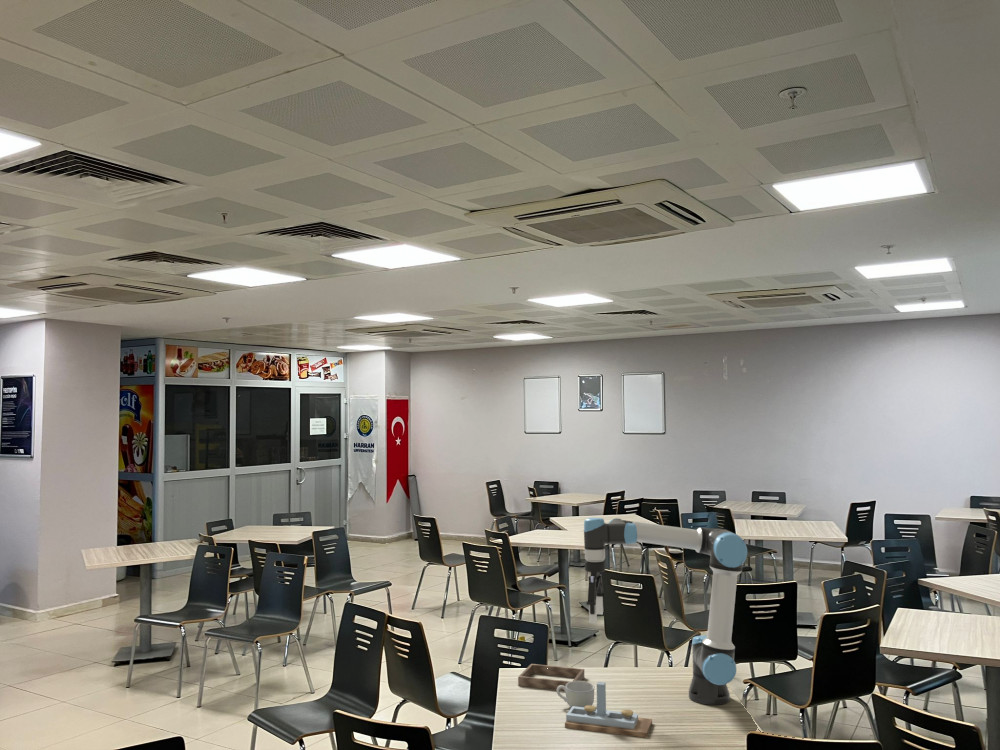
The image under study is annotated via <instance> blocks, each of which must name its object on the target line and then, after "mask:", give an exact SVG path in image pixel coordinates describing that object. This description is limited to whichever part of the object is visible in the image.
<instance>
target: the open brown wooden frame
mask: <svg viewBox="0 0 1000 750" xmlns="http://www.w3.org/2000/svg"><path fill="white" fill-rule="evenodd" d="M547 668H548V669H547ZM533 674H537V675H547V676H557V677H564V678H565V677H568V678H573V680H572V681H584V679H585V668H579V667H577V668H575V667H568V666H566V667H565V666H555V665H547V664H538V663H537V664H536V663H531V664H529V665H528V666H527V667H526V668H525V669H524V670H523V671H522V673H520V674H519V676H518V677H517V686H518V687H527V688H528V687H529V688H537V689H545V688H548V689H547V690H554V689H555V690H556V691H557V687H558V686H560V685H563V686H565V687H566V684H567V683H569V682H571V681H570V680H562V679H552V678H542V677H541V678H540V677H532V675H533ZM559 691H563V692H565V691H564V689H563V688H560V689H559Z"/></svg>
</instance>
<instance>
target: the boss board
mask: <svg viewBox="0 0 1000 750" xmlns="http://www.w3.org/2000/svg"><path fill="white" fill-rule="evenodd" d="M596 709H597V706H595V705H593V704H592V705H587V706H585V707H584V710H585V711H587V714H590V715H593V712H594V711H596ZM620 712H621V714H622V715H624V719H630V716H632V715H633V713H634V710H631V709H623V710H621V711H620ZM652 725H653V719H652V718H647V717H646V718H645V717H644V718H643V717H638V721H637V724H636V726H635V728H634V729H629V728H621V727H613V726H604V725H596V724H588V723H580V722H572V721H566V720H565V722H564V728H566V729H567V728H568V729H573V730H574V729H576V730H583V731H589V732H590V731H591V732H597V733H598V732H600V733H607V734H613V735H614V734H615V735H623V736H629V737H638V738H648V735H649V732H651V731H650V730H651V727H652Z"/></svg>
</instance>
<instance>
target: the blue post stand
mask: <svg viewBox="0 0 1000 750" xmlns="http://www.w3.org/2000/svg"><path fill="white" fill-rule="evenodd" d="M606 685H607V684H606V682H604V681H603V682H602V681H598V682H597V683H596V711H594V712H593V715H590V714H587V711H585V710H584V707H576V706H572V707H571V706H570V709H569V710H568V711H567V713H566V715H565V716H566V717H565V722H566V721H572V722H580V723H588V724H596V725H604V726H613V727H621V728H629V729H634V728H635V726H636V724H637V721H638V718H639V713H637V712H636V713H635V712H633V715H632V716H630V719H624V715H622V714H621V711H617V710H608V709H607V701H606V700H607V699H606V698H607V696H606V695H607V694H606V693H607V692H606V689H607V686H606Z"/></svg>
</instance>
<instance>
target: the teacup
mask: <svg viewBox="0 0 1000 750" xmlns="http://www.w3.org/2000/svg"><path fill="white" fill-rule="evenodd" d="M560 688H563V689H564V691H563V692H564V693H565V696H564V695H563V694H561V692H560V690H559V689H560ZM556 694H557V695H558V697H559V698H561V699H563V701H564V702H565V703H567V705H568V706H569V707H570V708H571V707H572V706H576V707H585V706H587V705H592V706H593V705H594V703H595V702H594V701H595V685H594V684H593V683H591V682H589V681H585V680H582V681H573V680H572V681H571V682H569V683H567V684H566V687H565V686H563V685H560V686H558V687H557V690H556Z"/></svg>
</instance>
